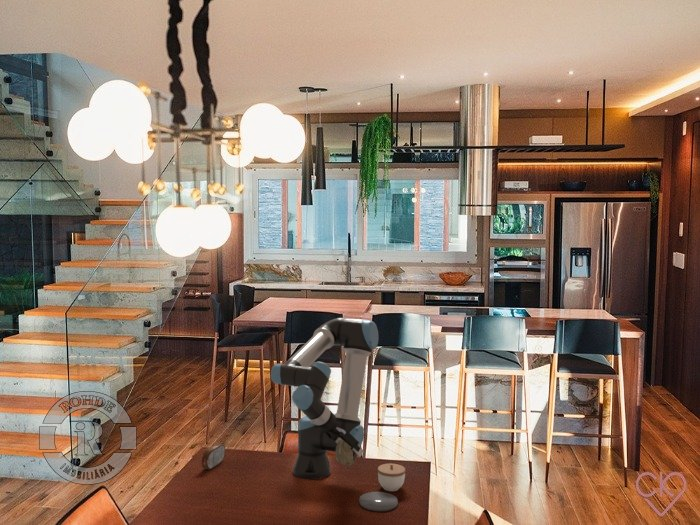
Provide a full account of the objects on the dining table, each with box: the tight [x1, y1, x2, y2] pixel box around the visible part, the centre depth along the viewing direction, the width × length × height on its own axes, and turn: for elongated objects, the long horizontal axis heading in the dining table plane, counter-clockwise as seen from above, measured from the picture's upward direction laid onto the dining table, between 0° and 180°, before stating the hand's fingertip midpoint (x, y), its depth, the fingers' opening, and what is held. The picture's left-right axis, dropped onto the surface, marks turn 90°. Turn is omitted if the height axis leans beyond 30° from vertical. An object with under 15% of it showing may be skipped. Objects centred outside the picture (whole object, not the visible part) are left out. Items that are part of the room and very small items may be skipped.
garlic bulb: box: [335, 439, 359, 466], centre depth 246 cm, size 9×8×10 cm
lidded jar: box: [377, 463, 406, 492], centre depth 253 cm, size 11×11×9 cm
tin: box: [201, 442, 226, 470], centre depth 272 cm, size 15×3×8 cm, turn 160°
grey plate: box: [358, 491, 399, 512], centre depth 240 cm, size 14×14×1 cm
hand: (353, 450), depth 249 cm, fingers closed on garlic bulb, 8 cm apart
